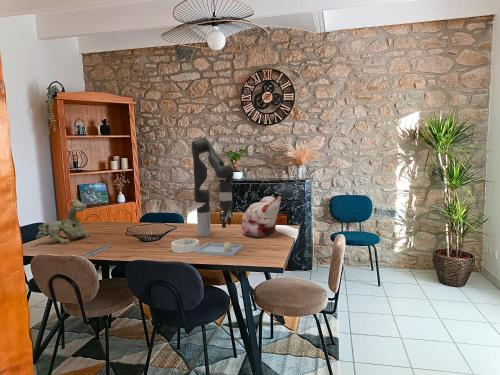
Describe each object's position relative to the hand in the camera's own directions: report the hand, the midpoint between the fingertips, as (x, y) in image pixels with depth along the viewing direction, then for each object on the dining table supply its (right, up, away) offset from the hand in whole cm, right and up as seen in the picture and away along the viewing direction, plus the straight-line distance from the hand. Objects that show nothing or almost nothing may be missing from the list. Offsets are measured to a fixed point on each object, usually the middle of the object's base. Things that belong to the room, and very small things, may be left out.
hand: (226, 226), depth 219 cm
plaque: (-82, -18, +8) cm, 84 cm away
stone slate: (-24, -15, +10) cm, 30 cm away
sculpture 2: (+24, -11, +45) cm, 52 cm away
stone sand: (+1, -15, +2) cm, 15 cm away
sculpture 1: (-116, -15, +40) cm, 123 cm away
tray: (-5, -16, +4) cm, 17 cm away
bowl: (-26, -16, +9) cm, 32 cm away
